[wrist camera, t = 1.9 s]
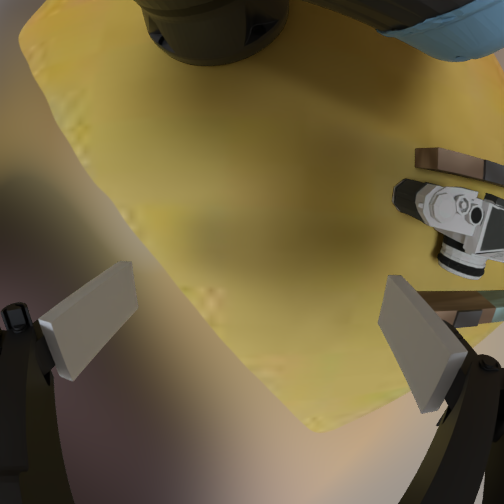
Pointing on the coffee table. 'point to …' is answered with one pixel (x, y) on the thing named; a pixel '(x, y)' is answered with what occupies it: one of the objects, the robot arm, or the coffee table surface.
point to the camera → (457, 223)
